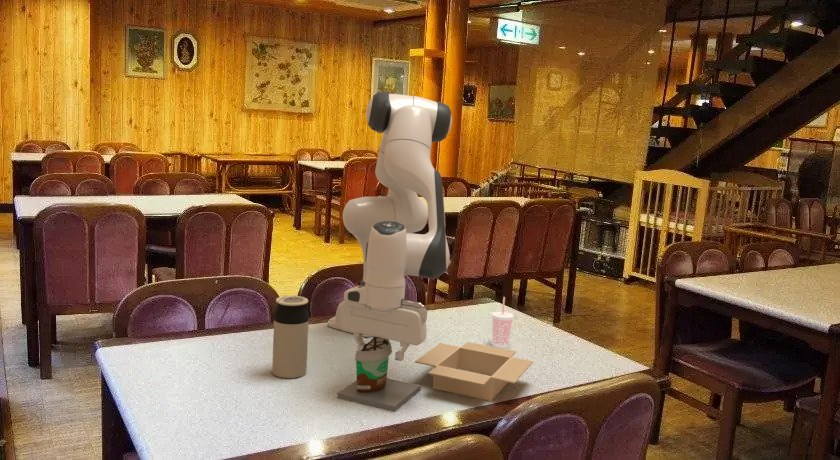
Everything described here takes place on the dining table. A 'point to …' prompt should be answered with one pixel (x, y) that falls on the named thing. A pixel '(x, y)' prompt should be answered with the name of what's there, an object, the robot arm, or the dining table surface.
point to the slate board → (382, 394)
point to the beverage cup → (501, 328)
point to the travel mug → (290, 337)
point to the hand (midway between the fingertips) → (380, 355)
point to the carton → (473, 369)
